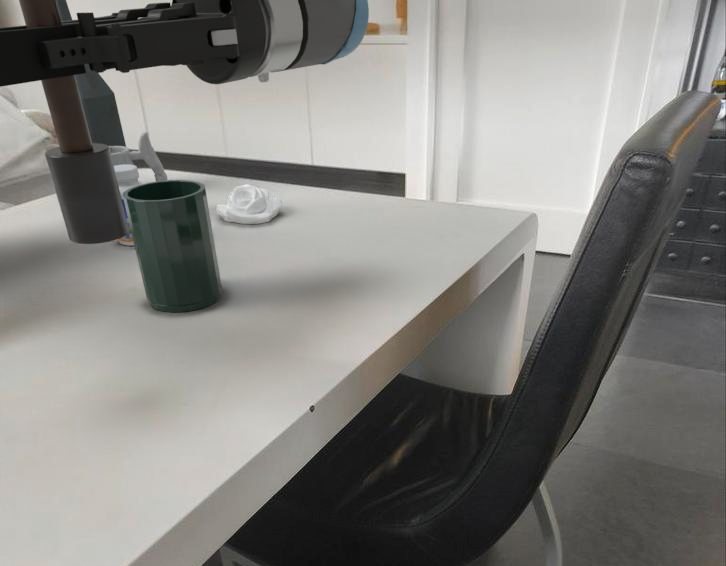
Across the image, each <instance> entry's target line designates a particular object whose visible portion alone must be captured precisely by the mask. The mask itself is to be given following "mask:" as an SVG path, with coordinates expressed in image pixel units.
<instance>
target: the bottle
mask: <svg viewBox="0 0 726 566" xmlns="http://www.w3.org/2000/svg"><path fill="white" fill-rule="evenodd" d="M56 2H57V6H58V10H59V14H60V18H61V21H68V20H73V17H72V15H71V12H70V9H69V5H68V2H67V0H56ZM84 66H85V70H86V73H84V74H78V75H75V77H76V81H77V85H78V89H79V93H80V97H81V101H82V105H83V109H84V113H85V117H86V121H87V125H88V129H89V133H90V137H91V141H92V143H98V144H105V145H107V146H112V147H113V146H124V147H127V144H126V139H125V135H124V131H123V126H122V121H121V117H120V113H119V109H118V105H117V100H116V95H115V92H114V91H113V90H112V88H111V86H109V85H108V84H107V82H106V81H105V79H104V78H103V76H102V75H101V74H100V73H96V71H90V68H89V64H84Z"/></svg>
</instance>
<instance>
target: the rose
mask: <svg viewBox="0 0 726 566" xmlns="http://www.w3.org/2000/svg"><path fill="white" fill-rule="evenodd" d="M282 206H283V202H282V200H281V199H280V198H279V197H278V196H274V195H272V193H271V191H270V190H268V188H267V189H266V188H263V187H260V188H259V187H258V186H257V185H253V184H243V185H237V186H235V187H234V188H233V189H232V190H231V191H230V193H229V194H228V195H227V199H226V203H218V204H216V207H215V209H216V212H217V213H218V215H220V217H222V219H223V220H224V221H225V222H230V223H237V224H241V225H258V224H259V225H260V224H263V223H269V222H270V221H271V220H272V219H273V218H275V217H277V215H279V212H280V210H281V208H282Z"/></svg>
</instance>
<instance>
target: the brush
mask: <svg viewBox="0 0 726 566" xmlns="http://www.w3.org/2000/svg"><path fill="white" fill-rule="evenodd" d="M18 2H19V6H20V9H21V13H22V16H23V20H24V24H25V25H26V28H36V27H46V26H57V25H62V22H61V18H60V14H59V10H58V6H57V2H56V0H18ZM40 81H41V85H42V88H43V92H44V95H45V99H46V103H47V107H48V110H49V114H50V117H51V121H52V125H53V129H54V132H55V135H56V139H57V142H58V146H57V147H53V148H50V149H48V150H46V151H45V152H44V156H45V157H44V158H45V160H46V164H47V168H48V170H49V174H50V177H51V181H52V184H53V188H54V191H55V194H56V199H57V202H58V204H59V208H60V212H61V215H62V218H63V222H64V226H65V229H66V232H67V235H68V239H69V240H70V242H72V243H73V244H74V243H75V244H80V245H98V244H105V243H109V242H114V241H118V239H120V238H122V237H124V236H126V235H127V234H128V233H129V228H128V224H127V220H126V216H125V212H124V207H123V203H122V199H121V195H120V190H119V186H118V182H117V178H116V174H115V169H114V165H113V161H112V157H111V153H110V148H109V146H107V145H105V144H98V143H92V141H91V137H90V133H89V129H88V125H87V121H86V117H85V113H84V109H83V105H82V101H81V97H80V93H79V89H78V85H77V81H76V77H75V75H71V76H65V77H59V78H52V79H46V80H40Z"/></svg>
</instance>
